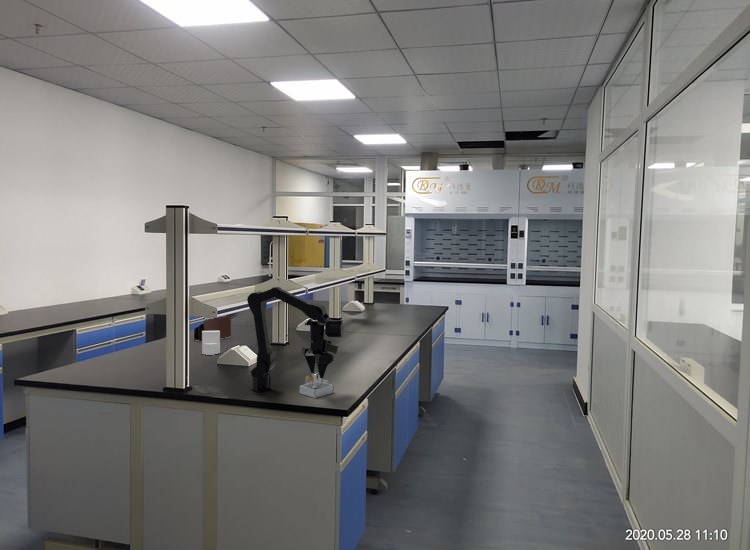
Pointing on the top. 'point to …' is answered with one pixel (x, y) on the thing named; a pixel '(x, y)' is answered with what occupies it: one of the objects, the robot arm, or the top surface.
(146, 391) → the top surface
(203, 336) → the cylinder with rectangular tab
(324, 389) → the bin
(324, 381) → the mount
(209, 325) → the letter holder
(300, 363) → the top surface
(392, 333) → the top surface
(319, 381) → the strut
